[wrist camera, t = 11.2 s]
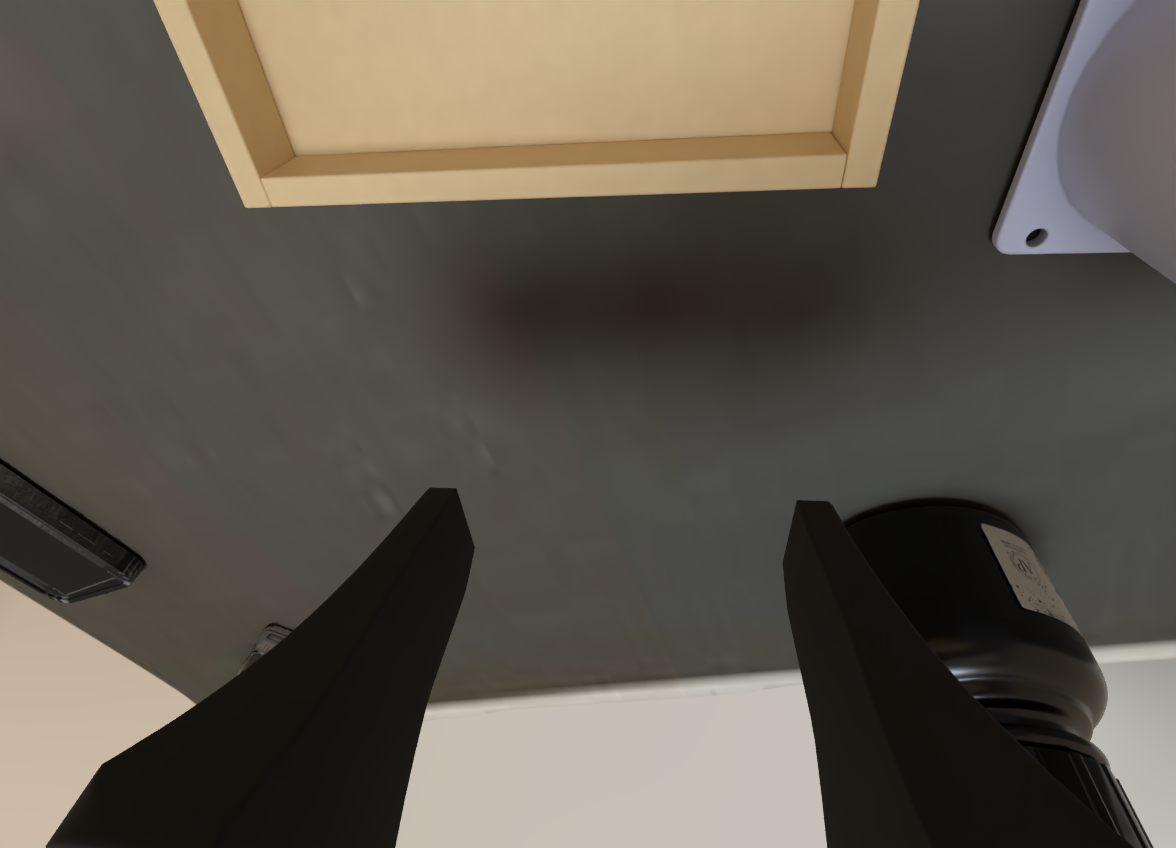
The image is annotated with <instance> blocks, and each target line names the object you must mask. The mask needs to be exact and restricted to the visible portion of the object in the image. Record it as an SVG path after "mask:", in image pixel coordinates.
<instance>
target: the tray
mask: <svg viewBox="0 0 1176 848" xmlns="http://www.w3.org/2000/svg"><path fill="white" fill-rule="evenodd" d="M919 2H920V0H154V3H155V5H156V7H157V9H158V12H159V14H160V16H161V19H162V21H163V23H164V25H165V28H166V30H167V32H168V34H169V37H170V39H171V41H172V43H173V46H174V48H175V50H176V52H177V55H178V57H179V59H180V61H181V64H182V66H183V68H184V70H185V73H186V75H187V77H188V79H189V82H190V84H191V86H192V88H193V91H194V93H195V95H196V97H197V100H198V102H199V104H200V106H201V109H202V111H203V113H204V115H205V118H206V120H207V122H208V124H209V127H210V129H211V131H212V133H213V136H214V138H215V140H216V142H217V145H218V147H219V149H220V151H221V154H222V156H223V158H224V160H225V163H226V165H227V167H228V169H229V172H230V174H231V176H232V178H233V181H234V183H235V185H236V188H237V190H238V192H239V194H240V197H241V199H242V201H243V203H244V206H245V207H246V208H263V207H291V206H320V205H350V204H380V203H410V202H440V201H470V200H500V199H530V198H560V197H590V196H620V195H650V194H680V193H710V192H740V191H770V190H799V189H829V188H840V187H842V188H864V187H875V186H876V184H877V180H878V176H879V172H880V167H881V163H882V159H883V155H884V150H885V146H886V142H887V138H888V133H889V129H890V125H891V121H892V116H893V112H894V108H895V104H896V99H897V95H898V91H899V87H900V82H901V78H902V74H903V70H904V65H905V61H906V57H907V53H908V48H909V44H910V40H911V36H912V31H913V27H914V23H915V19H916V14H917V10H918V6H919Z"/></svg>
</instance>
